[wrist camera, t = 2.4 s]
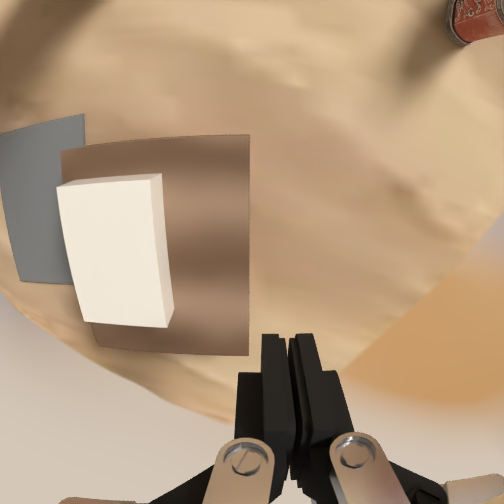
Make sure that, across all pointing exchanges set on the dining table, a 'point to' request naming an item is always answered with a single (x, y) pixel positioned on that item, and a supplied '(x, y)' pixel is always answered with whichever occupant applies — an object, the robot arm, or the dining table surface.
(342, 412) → the robot arm
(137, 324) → the tile
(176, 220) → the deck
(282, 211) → the dining table surface
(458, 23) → the lighter
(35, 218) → the mat
